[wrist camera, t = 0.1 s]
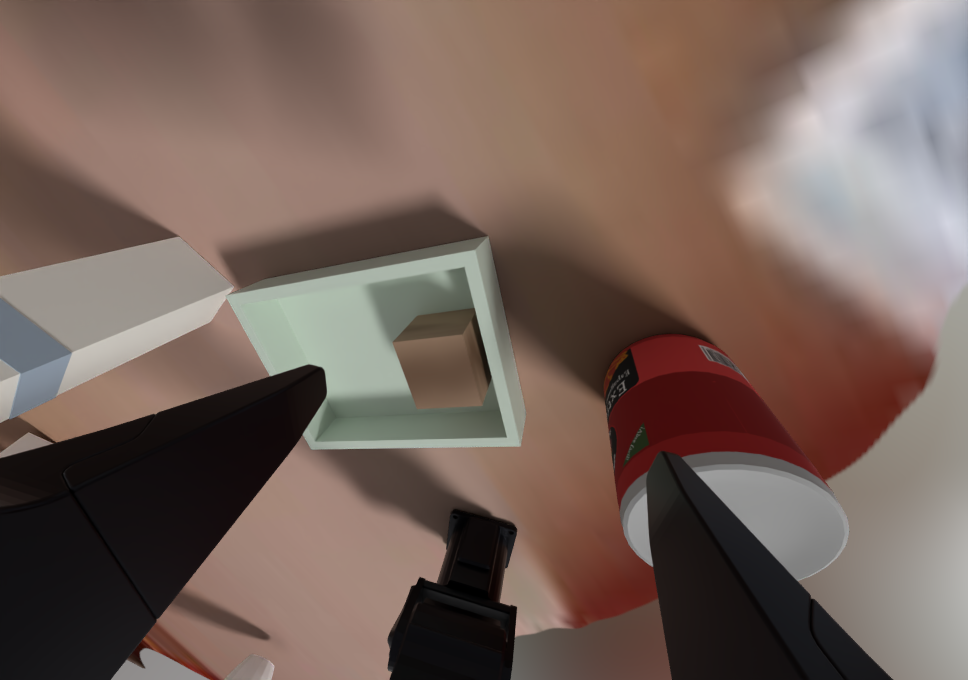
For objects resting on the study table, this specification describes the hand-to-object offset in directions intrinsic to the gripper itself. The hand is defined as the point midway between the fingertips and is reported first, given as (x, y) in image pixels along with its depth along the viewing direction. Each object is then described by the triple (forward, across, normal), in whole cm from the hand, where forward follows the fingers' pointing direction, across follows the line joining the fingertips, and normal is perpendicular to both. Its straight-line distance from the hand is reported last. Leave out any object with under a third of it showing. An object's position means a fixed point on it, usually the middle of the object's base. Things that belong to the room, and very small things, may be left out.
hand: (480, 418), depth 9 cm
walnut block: (+14, +4, +6) cm, 16 cm away
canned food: (+15, -10, +6) cm, 19 cm away
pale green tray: (+15, +9, +8) cm, 19 cm away
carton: (+15, +26, +6) cm, 30 cm away
